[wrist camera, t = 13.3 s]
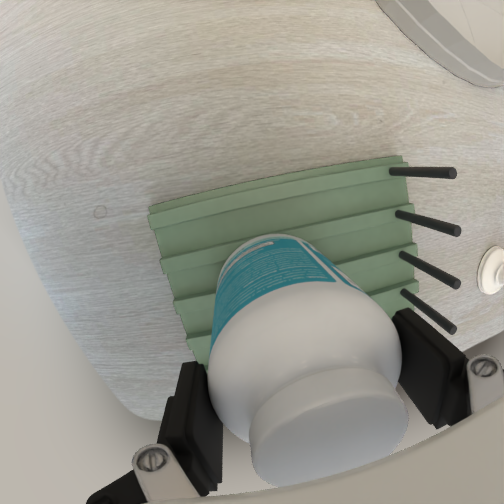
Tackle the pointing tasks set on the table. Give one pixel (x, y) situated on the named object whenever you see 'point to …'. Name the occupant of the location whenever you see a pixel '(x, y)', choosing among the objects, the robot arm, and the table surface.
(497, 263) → the chess piece
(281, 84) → the table surface
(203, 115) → the table surface
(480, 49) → the dish
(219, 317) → the pill bottle
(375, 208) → the rack
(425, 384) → the robot arm
